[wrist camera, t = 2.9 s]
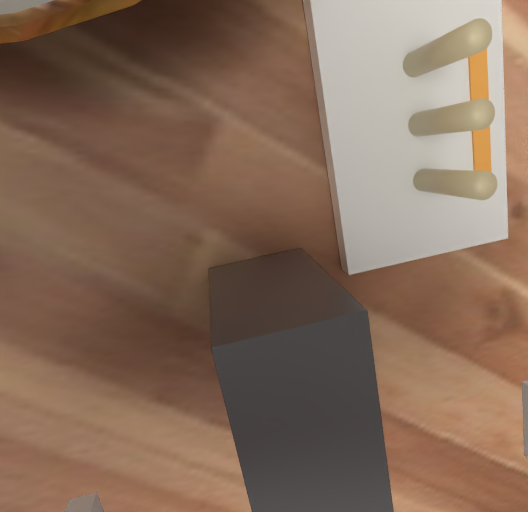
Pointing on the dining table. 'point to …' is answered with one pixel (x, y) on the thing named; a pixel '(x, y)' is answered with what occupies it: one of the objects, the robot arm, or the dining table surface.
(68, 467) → the dining table surface
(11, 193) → the dining table surface
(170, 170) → the dining table surface
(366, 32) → the white peg board
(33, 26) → the bowl
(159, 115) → the dining table surface
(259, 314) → the block
